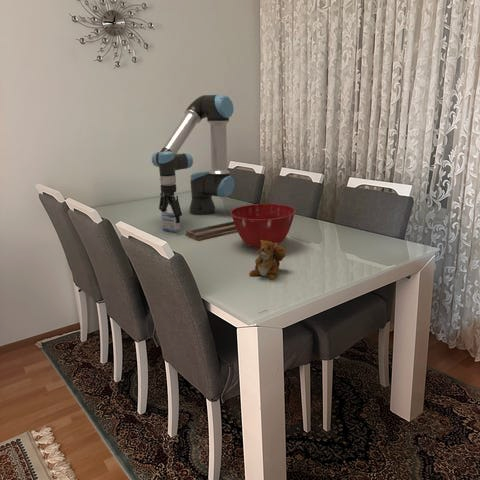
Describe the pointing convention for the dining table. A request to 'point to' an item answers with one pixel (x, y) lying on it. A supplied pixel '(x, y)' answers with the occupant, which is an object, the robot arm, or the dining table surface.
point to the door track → (212, 231)
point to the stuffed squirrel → (268, 260)
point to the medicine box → (168, 222)
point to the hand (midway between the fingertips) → (171, 226)
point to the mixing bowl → (263, 223)
